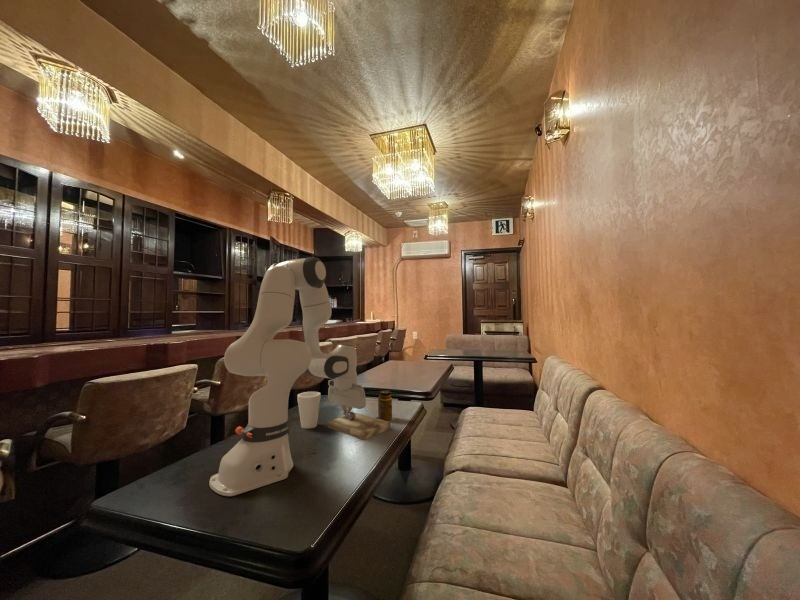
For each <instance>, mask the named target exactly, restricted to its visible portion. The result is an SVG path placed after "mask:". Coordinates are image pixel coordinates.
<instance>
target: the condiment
mask: <svg viewBox="0 0 800 600" xmlns="http://www.w3.org/2000/svg"><path fill="white" fill-rule="evenodd" d="M377 404H378V405H377V408H378V409H377V410H378V411H377V412H378V413H377V414H378V416H377V417H376V418H377V419H380V420H384V421H387V422H391V421H395V420H396V418H395V417H393V398H392V391H390V390H380V391H379V392H378V400H377Z"/></svg>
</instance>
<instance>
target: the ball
mask: <svg viewBox="0 0 800 600" xmlns="http://www.w3.org/2000/svg"><path fill="white" fill-rule="evenodd" d="M355 413H356V412H354V411H351V412H350V413H349V414H348V418H349V419H350V420H353V419H355V416H356V415H355Z"/></svg>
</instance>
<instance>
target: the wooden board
mask: <svg viewBox="0 0 800 600" xmlns="http://www.w3.org/2000/svg"><path fill="white" fill-rule="evenodd" d="M354 413H355V415H356V416H355V419H353V420H350V419H349V418H348V416H345V415H343V416H339V417H337V418H335V419H332V420H328V421H327V428H328V429H330V430H332V431H333V430H334V431H337V432H339V433H342V434H345V435H348V436H351V437H354V438H355V439H359V440H362V441H365V440H367V439H369V438H372V437H374V436H376V435H379V434H381V433H384V432H386V431H388V430H390V429H392V428H391V421H388V422H387V421H384V420H380V419H377V417H372V416H369V415H365V414H362V413H358V412H354Z"/></svg>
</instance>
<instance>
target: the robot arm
mask: <svg viewBox="0 0 800 600" xmlns="http://www.w3.org/2000/svg"><path fill="white" fill-rule="evenodd" d="M326 278H327V268H326V265H325V263H324V262H323V261H322V260H321V259H320V258H319V257H313V256H312V257H310V256H309V257H306V258H295V259H287V260H285V261H284V260H283V261H282V262H275V263H273V264H272V265H270V266H269V268H268V269H266V271H265V273H264V276H263V279H262V281H261V284H260V288H259V292H258V293H259V294H258V297H257V298H258V299H257V304H256V309H255V313H254V316H253V320H252V322H251V324H250V325H249V327H248V328H247V329H246V331H245V332H244V334H242V335H241V337H240V338H238V339H237V340H235V341H233V342H232V343H231V344H230V345H228V347H227V348H226V350H225V352H224V356H223V364H224V366H225V369H226V370H227V371H228V372H229V373H231V374H233V375H239V376H244V377H267V378H266V379H267V382H266V385H265V386H262V387H261V388H259V389H257V390H256V391H254V392H253V393H252V394H251V395H250V397H249V399H248V423H247V424H246V426H245V427H242V426H240V425H239V426H237V427H236V428H235V429H234V430H235V433H236V434H238V436H241V439H240V440H239V441H238V442H237V443H236V444H234V446H233V447H232V448H231V449H230V450H229V451H228V452H227V453H226V454H224V455H223V456H222V457H221V460H220V462H219V468H218V473H216V474H213V475H211V476H210V479H209V483H208V484H209V487H210V489H211V490H212V491H214V492H215V493H216V494H218V495H221V496H223V497H224V496H225V497H234V496H237V495H240V494H244V493H246V492H249V491H252V490H256V489H259V488H261V487H265V486H268V485H271V484H273V483H276V482H280V481H282V480H285V479H287V478H288V477H289V473H290V471H291V470H292V469H293V467H294V462H293V458H292V455H291V450H290V442H289V436H290V435H289V434H290V418H289V417H288V415H289V413H288V411H289V397H290V393H291V389H292V387H293V385H294V383H295V382H296V380H297V379H298V378H299V377H300V376H301V375H303V374H304V373H306V374H307V375H308V376H311V377H316V378H317V377H320V378H323V379H324V378H325V379H330V380H327V381H328V383H327V385H328V386H329V387H328V390H327V391H328V393H327V395H328V397H327V398H328V400H329V402H330V403H334V404H338V405H340V408H341V410H342V415H343V416H348V414H349V413H350V412H352V410H353V409H357V410H360V409H365V407H366V406H367V401H366V400H367V399H366V393H365V388H364V387H363V386H362V384H361V385H360V384H358V373H357V367H358V356H357V355H358V354H357V350H356V347H355V346H354V345H351V344H346V343H339V344H337V346H336V347H335V348H334V349H333V350H332V351H331V352H328V353H324V352H323V351H321V346H320V339H319V338H320V337H319V331H320V328H321V327H322V326H324V325H326V324H327V323H328V322H329V320H330V319H331V317H332V311H333V310H332V305H331V298H330V295H329V292H328V288H327V286H326V283H325V281H326V280H327V279H326ZM296 290H297V291H298V293H299V301H300V306H301V311H302V321H301V322H302V323H301V331H302V339H303V341H300V340H297V339H295V340H294V339H291V338H289V339H286V338H285V339H274V338H275V336H276V335H277V334H278V333H279V332H280V331H282V330H285V329H286V328H288V327H289V326H290V324H291V323H292V321H293V315H294V308H295V307H294V306H295V300H296V299H295V298H296Z"/></svg>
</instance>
